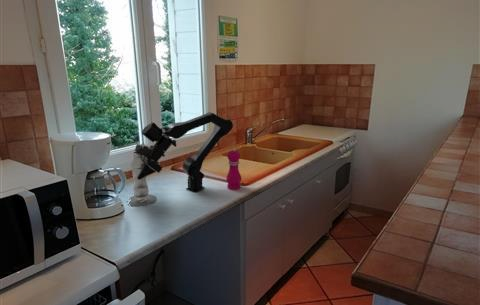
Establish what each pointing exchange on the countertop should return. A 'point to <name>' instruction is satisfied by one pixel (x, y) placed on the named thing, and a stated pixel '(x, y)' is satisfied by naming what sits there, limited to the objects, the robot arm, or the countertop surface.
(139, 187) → the silver bottle
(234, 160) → the pepper mill
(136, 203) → the round gray disc
